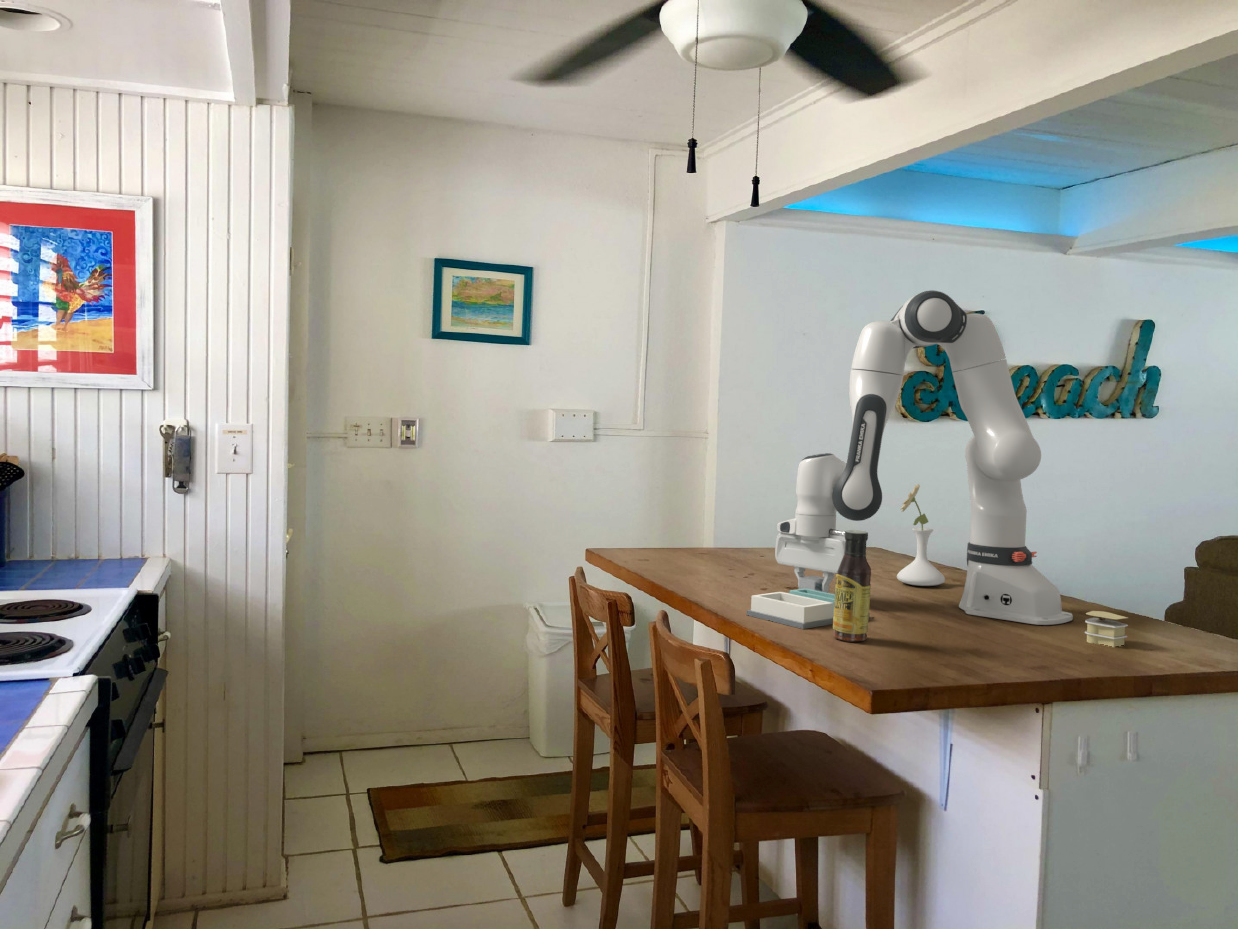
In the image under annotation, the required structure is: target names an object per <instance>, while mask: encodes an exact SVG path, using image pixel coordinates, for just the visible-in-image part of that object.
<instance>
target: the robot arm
mask: <svg viewBox="0 0 1238 929" xmlns="http://www.w3.org/2000/svg"><path fill="white" fill-rule="evenodd" d="M934 345H939V346H940V347H941V348H942V349H943V350H944V351H945V352H946V355H947V357H948V360H949V363H950V364H949V365H950V368H951V373H952V377H953V381H954V385H955V389H956V392H957V397H958V401H959V405H960V409H961V410H962V412H963V414H964V415H965V417H966V419H967V421H968V424H969V427H970V428H971V431H972V433H973V435H972V436H971V437H970V439H968V441H967V443H966V444H965V448H964V449H965V450H964V457H965V462H966V466H967V470H966V471H967V479H968V480H967V483H968V490H969V498H970V499H969V500H970V522H969V523H970V525H969V526H970V529H969V542H968V543H967V547H966V548H967V549H966V565H967V569H966V570H967V571H966V578H965V584H964V588H963V592H962V597H961V599H960V602H959V604H958V607H959V608H960V609H961V610H963V611H964V612H965V614H967V615H971V616H972V615H973V616H977V617H983V618H984V617H985V618H991V619H998V620H1005V621H1011V622H1018V623H1023V624H1031V625H1037V626H1039V625H1040V626H1042V625H1043V626H1049V625H1061V624H1064V623H1068V622H1071V621H1072V620H1073V619H1074V616H1073V614H1072V612H1067V611H1063V608H1062V598H1061V593H1060V591H1059V589H1058V587H1057V586H1056V585H1055V584H1054V583H1053V582H1052V581H1050V580H1049V579H1048V578H1047V577H1046V576H1044V575H1043V573H1042V572H1040V570H1038V569H1037V568H1036V567H1035V566H1034V565H1033V558H1036V557H1037V555H1035V554H1038V552H1037V551H1031V550H1030V549H1029V548H1028V547H1027V545H1026V532H1027V530H1026V528H1027V512H1028V511H1027V507H1026V504H1025V500H1024V496H1023V489H1022V483H1021V480H1023V479H1025V478H1027V477H1029V476H1030V475H1032V474H1034V472H1035V471H1036V470H1037V469H1038V467H1039V465H1040V463H1041V459H1042V451H1041V447H1040V445H1039V443H1038V442H1037V440H1036V439H1035V437H1034V435H1033V433H1032V430H1031V428H1030V426H1029V423H1028V421H1027V419H1026V417H1025V414H1024V412H1023V410H1022V407H1021V405H1020V403H1019V400H1018V397H1017V395H1016V392H1015V388H1014V385H1013V380H1012V377H1011V373H1010V369H1009V366H1008V365H1009V364H1008V362H1007V359H1006V357H1007V356H1006V354H1005V350H1004V347H1003V344H1002V341H1001V339H1000V336H999V334H998V331H997V329H996V327H995V325H994V323H993V321H992V319H991V318H990V317H989V316H988V315H985V314H983V313H976V312H975V313H966V312H965V311H964V310H963V309H962V308H961V307H960V306H959V304H957V302H955V301H954V299H953V298H952V297H951V296H950V295H948V294H946V293H945V292H943V291H939V290H933V289H932V290H930V289H929V290H924V291H922V292H919V293H917V294H915V295H913V296H911V297H910V298H908V299H907V300H906V301H905V302H904V304H903V305H902V306H900V308H899V309H898V310H897V312H896V313H895V315H894V316H893V317H892V318H891V319H890V320H889V321H888V320H876V321H872V322H869V323H867V324H866V325H865V326H864V327H863V328H862V330H861V332H860V334H859V337H858V339H857V343H856V346H855V350H854V353H853V356H852V361H851V368H850V371H849V372H850V373H849V383H848V384H849V385H848V386H849V387H848V393H849V395H848V396H849V398H848V399H849V405H850V412H851V420H852V421H851V423H852V428H851V435H850V441H849V448H848V453H847V454H848V455H847V460H846V462H844V461H843V460H841V459H840V458H838V457H837V456H836V455H835V454H833V453H831V452H830V453H819V454H812V455H807V456H806V457H803V459H801V461H800V462H799V464H798V466H797V467H798V468H797V473H796V483H795V495H796V496H795V497H796V499H797V500H796V502H797V505H796V508H795V510H794V511H795V512H794V513H795V516H794V518H790V519H787V520H784V521H780V522H778V523H777V524H776V530H777V532H778V534H777V535H776V539H775V549H774V552H775V553H774V555H775V556H774V557H775V560H776V562H777V564H779V565H784V566H791V567H794V570H793V571H794V574H795V576H796V578H797V581H798V582H797V586H798V587H797V588H799V577H804V576H806V575H805V573H804V572H806V569H807V570H813V571H818V572H822V577H824V580H823V582H822V583H819V591H821V592H828V593H830V584H831V582H832V581H833V579H834V578H835V575H836V574H837V571H838V569H839V566H840V563H841V561H842V558H843V556H844V552H845V541H846V540H845V532H846V531H847V530H839V529H838V530H837V514H839V515H840V516H842V517H843V518H844V519H847V520H850V521H853V522H854V521H855V522H857V521H858V522H860V521H865V520H868V519H870V518H872V517H873V516H874V515H875V514H876V513H877V512H878V511H879V509H880V507H881V505H882V502H883V492H882V487H881V485H880V480H879V475H878V466H879V459H880V454H881V447H882V440H883V434H884V432H885V429H886V426H887V425H886V424H887V423H888V421H889V418H890V417H891V415H892V413H893V411H894V409H895V406H896V404H897V403H898V402H897V401H898V399H899V396H900V393H901V389H902V385H903V380H904V374H905V366H906V361H907V359H908V356H909V353H910V352H911V350H912V349H920V348H925V347H929V346H934ZM837 512H838V513H837Z"/></svg>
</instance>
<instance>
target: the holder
mask: <svg viewBox="0 0 1238 929" xmlns="http://www.w3.org/2000/svg"><path fill="white" fill-rule="evenodd" d="M750 600H751V601H750V609H747V610H746V616H748V615H749V617H751V618H757V619H761V620H764V619H766V620H765V621H768V620H770V621H769V622H772V621H773V622H774V623H777V624H781V625H786V626H789V627H793V628H796V629H802V630H806V629H811V628H817V627H822V626H823V627H824V626H828V625H833V617H834V602H835V593H830V592H828V593H826V592H821V591H816V590H811V589H806V588H805V589H799V588H798V589H791V590H789V592H784V591H776V592H770V593H769V592H768V593H761V594H754V595H751V599H750ZM870 614H871V613H870V612H869V616H870ZM773 622H772V623H773Z"/></svg>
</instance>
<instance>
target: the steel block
mask: <svg viewBox="0 0 1238 929" xmlns="http://www.w3.org/2000/svg"><path fill="white" fill-rule="evenodd" d="M824 578H825V577H823V576H819V575H805V576H804V577H799V587H798V589H805V588H806V589H811V590H816V591H819V583H822V582H823V580H824ZM826 593H829V592H826Z"/></svg>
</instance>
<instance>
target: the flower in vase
mask: <svg viewBox="0 0 1238 929" xmlns="http://www.w3.org/2000/svg"><path fill="white" fill-rule="evenodd" d="M920 487H921V486H920V483H918V484H916V485H914V487H913V488H912V489H913V490H912V491H910V492H909V493H908V498H907V499H906V500H904V501H903V503H902V506H901V507H900V511H901V513H902V512H904V511H906V510H907V509H908V508H909V507H910V505H911V504H912V503H914V504H915V505H916V508H917V510H918V513H919V516H917V517H916V518H915V519H914V521H913V523H912V525H913V526H916V525H917V524H918V523H920V526H921V527H913V528H911V530H912V532H913V533H914V535H915V536H914V537H915V539H916V555H915V559H914V560H913V561H911V563H909V564H908V565H906V566H904V568H902V569H901V570H899V572H898V573H897V575H896V578H897V580H898V581H899V582H902V583H904V584H907V585H911V586H918V587H932V586H939V585H941V584H943V583H944V582H945V581H946V578H945V575H944V574H943V573H941V572H940V571H939V570H938V569H937V567H935V566H934V565H933V564H932V563H931V562H930V561H929V559H928V554H927V552H928V551H927V550H928V549H927V548H928V542H929V537H930V535H931V534H932V533H933V532H934V529H932V528H925V527H924V525H925V524H928V523H929V519H928V518H927V516H926V514H925V513H923V514H922V512H921V509H920V507H919V504H918V502H917V501H916V498H915V497H916V496H917V494H918V492H919V490H920Z"/></svg>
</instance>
